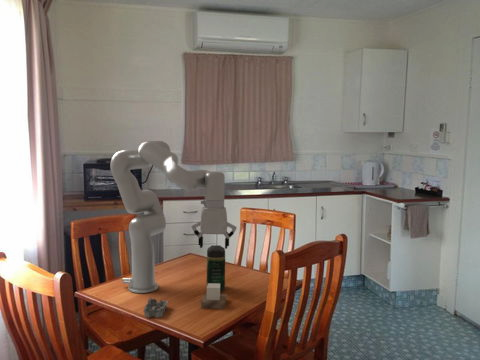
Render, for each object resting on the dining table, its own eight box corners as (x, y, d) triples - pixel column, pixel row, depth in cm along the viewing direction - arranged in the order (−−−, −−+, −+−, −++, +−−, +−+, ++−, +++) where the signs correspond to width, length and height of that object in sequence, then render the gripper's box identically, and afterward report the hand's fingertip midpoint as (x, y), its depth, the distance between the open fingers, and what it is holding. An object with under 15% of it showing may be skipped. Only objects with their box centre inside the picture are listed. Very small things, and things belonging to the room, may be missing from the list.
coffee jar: (225, 292, 187) (225, 249, 185) (206, 292, 187) (206, 249, 185) (224, 284, 197) (225, 243, 195) (206, 285, 196) (206, 243, 194)
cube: (206, 300, 172) (206, 287, 171) (207, 295, 177) (207, 283, 176) (219, 300, 172) (219, 287, 171) (220, 295, 177) (220, 283, 176)
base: (200, 309, 171) (200, 302, 170) (204, 300, 180) (204, 293, 179) (224, 310, 170) (224, 302, 170) (226, 301, 179) (226, 294, 179)
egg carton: (150, 306, 172) (150, 296, 172) (169, 307, 172) (169, 297, 171) (141, 317, 162) (141, 307, 162) (161, 319, 161) (161, 308, 161)
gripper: (190, 205, 167) (190, 249, 169) (236, 206, 166) (235, 251, 168) (193, 201, 174) (193, 244, 176) (237, 203, 174) (236, 245, 176)
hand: (213, 247), depth 172 cm, fingers open, 9 cm apart
